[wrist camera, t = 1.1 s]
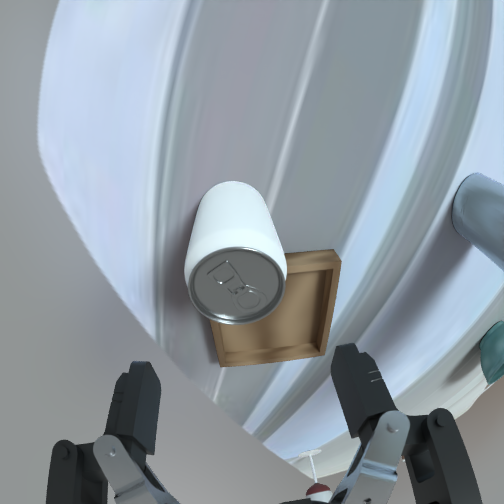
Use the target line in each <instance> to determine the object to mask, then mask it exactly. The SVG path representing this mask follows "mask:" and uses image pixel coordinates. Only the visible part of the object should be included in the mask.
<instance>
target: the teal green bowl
mask: <svg viewBox="0 0 504 504" xmlns="http://www.w3.org/2000/svg"><path fill="white" fill-rule="evenodd" d="M479 348H480V350H481V367H482V371H483V373H484V376H485V378H486V380H487V383H488V385H489V384H492V383H494V382H495V381H497V380H498V379H499V378H501V377H502V376H503V375H504V322H503V321H500V322H498V323H497V324H495V325H494V326H493V327H492V328H491V329H490V330H489V331H488V332H487V334H486V335H485V336H484V338H483V339H482V341H481V343H480V345H479Z"/></svg>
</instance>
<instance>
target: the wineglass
mask: <svg viewBox="0 0 504 504" xmlns="http://www.w3.org/2000/svg"><path fill="white" fill-rule="evenodd" d="M321 451H322V450H311V451H307V452H303V453H301V454H299V455H298V457H309V458H310V462H311V467H312V472H313V476H314V481H315V484H314V485H313V486H311V487H310V488H309V489H308V490H307V492H306V498H311V500H316V501H323V502H327V503H328V502H329V500H330V499H331V497H332V495H333V494H332V492H331V490H330V488H329V487H328V486H326V485H323V484H319V483H317V478H316V474H315V469H314V464H313V460H312V456H313V455H316V454H318V453H320V452H321Z"/></svg>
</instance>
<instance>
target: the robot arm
mask: <svg viewBox="0 0 504 504" xmlns="http://www.w3.org/2000/svg"><path fill="white" fill-rule="evenodd" d="M452 220H453V225H454V227H455V229H456V231H457V232H458V233H459V234H461V235H462V236H463V237H464V238H466V239H467V240H468V241H469V242H471V243H472V244H473V245H474V246H475V247H476V248H478V249H479V250H480V251H481V252H482V253H484V254H485V255H486V256H487V257H488V258H489V259H491V260H492V261H493V262H494V263H495V264H496V265H497V266H498V267H500V268H501V269H502V270H503V271H504V185H502V184H501V183H499V182H497V181H495V180H493V179H491V178H489V177H487V176H485V175H483V174H480V173H475V174H472V175H470V176H469V177H468V178H466V179H465V180H464V182H463V183H462V184H461V186H460V188H459V190H458V192H457V194H456V197H455V200H454V204H453V210H452ZM331 376H332V380H333V382H334V385H335V388H336V391H337V394H338V398H339V401H340V404H341V407H342V410H343V413H344V416H345V419H346V422H347V425H348V429H349V432H350V435H351V438H355V437H359V438H360V441H361V443H360V445H359V447H358V450H357V452H356V454H355V456H354V458H353V460H352V462H351V465H350V467H349V469H348V471H347V473H346V475H345V476H344V478H343V480H342V481H341V482H340V484H339V485H338V487H337V488H336V490H335V492H334V494H333V495H332V497H331V499H330V500H329V502H328V503H327V502H323V501H316V500H311V498H306V499H302V500H296V501H289V502H283V503H281V504H365V503H366V504H387V502H388V500H389V497H390V495H391V493H392V490H393V488H394V485H395V483H396V480H397V473H396V468H397V465H398V463H399V460H400V457H401V456H404V458H405V462H406V465H407V469H408V472H409V476H410V480H411V484H412V488H413V492H414V496H415V500H416V504H482V500H481V496H480V492H479V488H478V485H477V481H476V478H475V475H474V472H473V468H472V466H471V462H470V459H469V456H468V454H467V451H466V448H465V446H464V443H463V440H462V438H461V435H460V432H459V430H458V427H457V425H456V422H455V420H454V418H453V415H452V414H451V413H450V412H449V411H448V410H447V409H444V408H437V409H435V410H433V411H432V412H431V413H430V414H429V415H419V416H408V415H405V414H404V413H402V412H400V411H399V410H398V409H397V408H396V406H395V405H394V402H393V400H392V398H391V395H390V393H389V391H388V389H387V387H386V384H385V382H384V380H383V379H382V376H381V374H380V371H379V369H378V367H377V365H376V363H375V361H374V359H373V358H371V357H370V356H369V355H368V354H367V353H366V352H364V353H359V351H358V349H357V347H356V345H355V344H354V343H349V344H344V345H339V346H337V347H336V349H335V353H334V357H333V361H332V364H331ZM160 396H161V384H160V381H159V378H158V377H157V375H156V373H155V371H154V369H153V367H152V365H151V363H150V362H142V361H141V362H140V361H133V362H132V363H131V365H130V369H129V373H122V375H121V376H120V377H119V379H118V380H117V382H116V385H115V389H114V394H113V398H112V402H111V406H110V410H109V414H108V419H107V424H106V429H105V432H104V434H103V436H101V437H99V438H98V439H97V440H96V441H95V442H93V443H87V444H79V445H74V444H73V443H72V442H70V441H68V440H60V441H58V442H57V443H56V444H55V446H54V447H53V450H52V456H51V462H50V469H49V477H48V485H47V496H46V504H107V493H108V482H109V483H110V485H111V487H112V488H113V490H114V492H115V497H114V499H115V502H116V504H180V503H179V502H178V501H177V500H176V499H175V498H174V497H173V496H172V495H171V494H170V493H169V492H168V491H167V490H166V489H165V487H164V486H163V485H162V483H161V482H160V481H159V479H158V478H157V477H156V475H155V474H154V473H153V471H152V470H151V468H150V467H149V465H148V464H147V463H146V454H149V455H154V452H155V440H156V430H157V421H158V413H159V405H160Z"/></svg>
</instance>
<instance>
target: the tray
mask: <svg viewBox="0 0 504 504" xmlns="http://www.w3.org/2000/svg"><path fill="white" fill-rule="evenodd" d="M284 255H285V259H286V264H287V276H286V280H285V292H284V296H283V298H282V300H281V302H280V304H279V305H278V306H277V308H276V309H275V310H274V311H273V312H272V313H270V314H269V315H268V316H266V317H265V318H263V319H261V320H259V321H256V322H253V323H249V324H244V325H227V324H222V323H218V322H215V321H213V320H210V323H211V328H212V332H213V337H214V342H215V346H216V351H217V355H218V359H219V364H220V367H232V366H245V365H256V364H265V363H274V362H282V361H290V360H297V359H304V358H310V357H316V356H322V355H325V351H326V346H327V342H328V337H329V332H330V327H331V322H332V317H333V312H334V306H335V300H336V294H337V288H338V282H339V276H340V269H341V262H342V261H341V260H340V258H339V257H338V255H337V254H336V252H335V251H334V249H330V250H319V251H307V252H296V253H285V254H284Z"/></svg>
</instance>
